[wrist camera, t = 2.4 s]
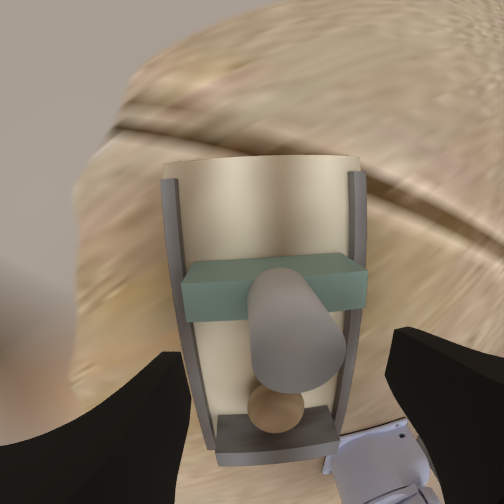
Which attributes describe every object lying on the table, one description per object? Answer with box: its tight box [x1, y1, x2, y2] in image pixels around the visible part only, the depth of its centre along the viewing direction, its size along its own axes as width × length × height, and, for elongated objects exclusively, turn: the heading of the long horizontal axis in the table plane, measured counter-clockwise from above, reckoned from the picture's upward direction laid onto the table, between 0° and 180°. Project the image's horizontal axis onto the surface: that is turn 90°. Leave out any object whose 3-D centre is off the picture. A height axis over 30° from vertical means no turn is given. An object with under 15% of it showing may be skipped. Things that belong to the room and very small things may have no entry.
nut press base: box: [161, 155, 367, 466], centre depth 17 cm, size 12×24×6 cm, turn 3°
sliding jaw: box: [181, 253, 368, 394], centre depth 12 cm, size 9×3×9 cm, turn 93°
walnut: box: [247, 384, 304, 433], centre depth 17 cm, size 4×4×4 cm
